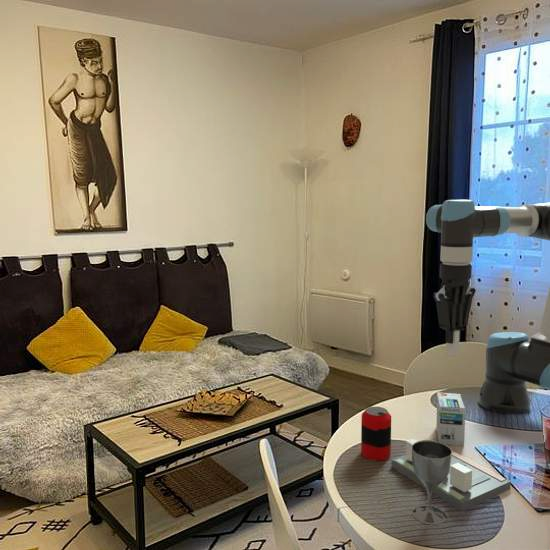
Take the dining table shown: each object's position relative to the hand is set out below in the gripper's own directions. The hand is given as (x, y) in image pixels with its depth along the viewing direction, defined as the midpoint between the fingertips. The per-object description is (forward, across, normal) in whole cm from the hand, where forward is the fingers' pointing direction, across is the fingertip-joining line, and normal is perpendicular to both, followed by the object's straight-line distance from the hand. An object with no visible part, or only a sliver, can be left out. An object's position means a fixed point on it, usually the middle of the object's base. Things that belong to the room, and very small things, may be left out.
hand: (452, 354), depth 140 cm
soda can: (+27, +17, -9) cm, 33 cm away
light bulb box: (+27, -7, -6) cm, 28 cm away
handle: (+24, +14, +2) cm, 28 cm away
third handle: (+24, +14, +16) cm, 32 cm away
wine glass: (+27, +25, +17) cm, 40 cm away
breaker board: (+26, +10, +9) cm, 30 cm away
